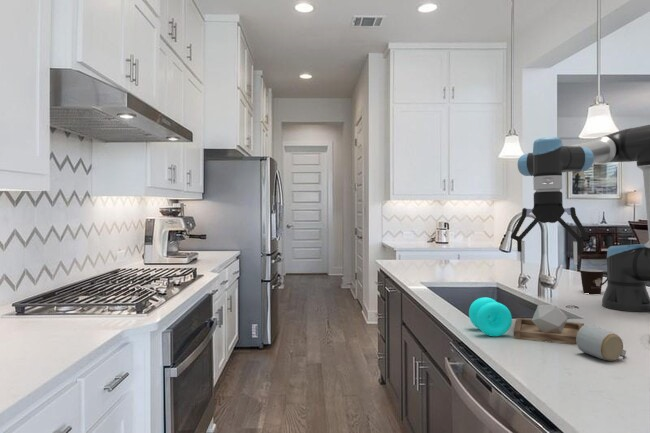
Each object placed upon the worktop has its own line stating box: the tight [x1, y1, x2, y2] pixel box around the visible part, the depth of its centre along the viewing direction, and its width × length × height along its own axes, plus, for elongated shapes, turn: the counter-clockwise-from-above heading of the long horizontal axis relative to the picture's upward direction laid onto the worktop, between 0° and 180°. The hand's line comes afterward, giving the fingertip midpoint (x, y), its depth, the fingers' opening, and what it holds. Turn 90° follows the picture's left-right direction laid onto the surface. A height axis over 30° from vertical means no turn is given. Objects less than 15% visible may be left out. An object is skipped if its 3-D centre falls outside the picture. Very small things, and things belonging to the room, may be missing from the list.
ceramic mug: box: [576, 323, 627, 362], centre depth 108 cm, size 10×8×7 cm
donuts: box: [468, 296, 513, 338], centre depth 130 cm, size 10×10×10 cm
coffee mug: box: [579, 268, 607, 294], centre depth 186 cm, size 12×9×10 cm
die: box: [531, 304, 568, 333], centre depth 127 cm, size 8×9×10 cm
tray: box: [513, 317, 585, 346], centre depth 127 cm, size 19×17×2 cm
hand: (548, 263), depth 127 cm, fingers open, 13 cm apart
